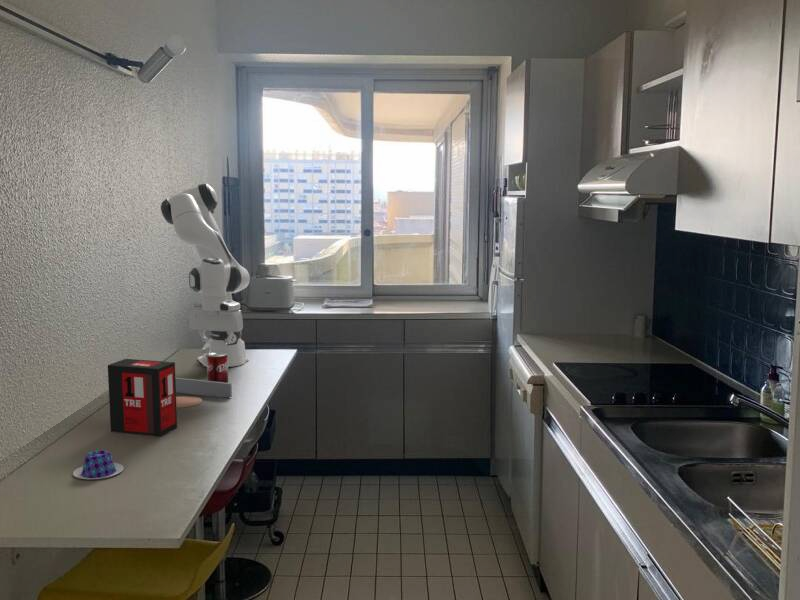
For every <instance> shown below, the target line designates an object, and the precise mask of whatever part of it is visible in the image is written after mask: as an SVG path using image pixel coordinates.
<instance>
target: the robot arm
mask: <svg viewBox="0 0 800 600" xmlns="http://www.w3.org/2000/svg"><path fill="white" fill-rule="evenodd" d="M217 205H218V195H217V193H216V191H215V189H214V188H213V187H212V185H210V184H208V183H201V184H198V185H197V186H196V185H195V186H193V187H190V188H187V189H183V190H182V191H180V192H178V193H176V194H173V196H171V197H167V198H165V199H164V200H163V201H162V202H161V204H160V211H161V215H162V218H163V219H164V220H165V221H166V222H167V223H168V224H170V225H173V227H174V231H175V233H176V236H177V237H178V239H180V240H182V242H185V243H186V244H190V245H194V247H195V249H196V251H197V254H198V256H199V258H200V259H201V263H200V264H199V265H198V266H196V267H193V268H192V269H191V270H190V272H189V273H188V283H189V288H190V289H191V290H192V291H194V292H195V293H198V294H201V303H193V304H191V305H190V307H189V319H188V320H189V322H188V323H189V325H188V327H189V329H190V330H191V331H192V330H194V331H198V334H199V336H200V338H201V342H202V343H203V347H202V348H201V350H200V351H201V354H203V355H201V356H198V357H197V360H198V362H200V363H201V364H202V366H203V367H206V368H207V355H208V354H210V353H216V352H221V353H226V354H227V355H228V368H229V367H238V366H242V365H244V364H245V363H246V362H249V358H248V357H247V355H246V346H245V341H244V340H243V339H242V330H243V328H244V320H243V314H242V312H241V310H240V309H241V304H240V302H237V301H235V300H233V296H232V294H235V293H239V292H241V291H243V290H244V289H246V288H247V287H248V286H249V284H250V281H251V277H250V273H249V272H248V269H247V268H245V267H244V266H242V265H241V264H240V263H238V261H237V260H236V259H235V257H233V255H232V253H231V252H230V251H229V249H228V247H227V244H226V242H225V240H224V238H223V235H222V233H221V230H220V229H219V226H218V223H217V222H216V220H215V218H214V217H213V214H214V212H215V209H217ZM206 331H210V332H209V336H206V334H205V333H206Z"/></svg>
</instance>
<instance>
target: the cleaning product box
mask: <svg viewBox="0 0 800 600" xmlns="http://www.w3.org/2000/svg"><path fill="white" fill-rule="evenodd" d="M175 377H176V362H173V361H162V360H160V361H158V360H148V359H147V360H146V359H134V358H124V359H121V360H118V361H115V362H112V363H110V364H107V379H108V381H107V382H108V383H107V384H108V400H109V402H108V403H109V422H110V425H109V426H110V432H111V433H118V434H127V433H128V435H129V434H130V435H139V436H140V435H141V436H148V437H150V436H151V437H156V438H157V437H158V438H162V437H163V436H165V435H167V434H168V433H170V431H171V432H172V431H174V430H176V429H177V428H178V413H177V412H178V411H177V408H176V397H177V394H176V393H177V392H176V382H175Z"/></svg>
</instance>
